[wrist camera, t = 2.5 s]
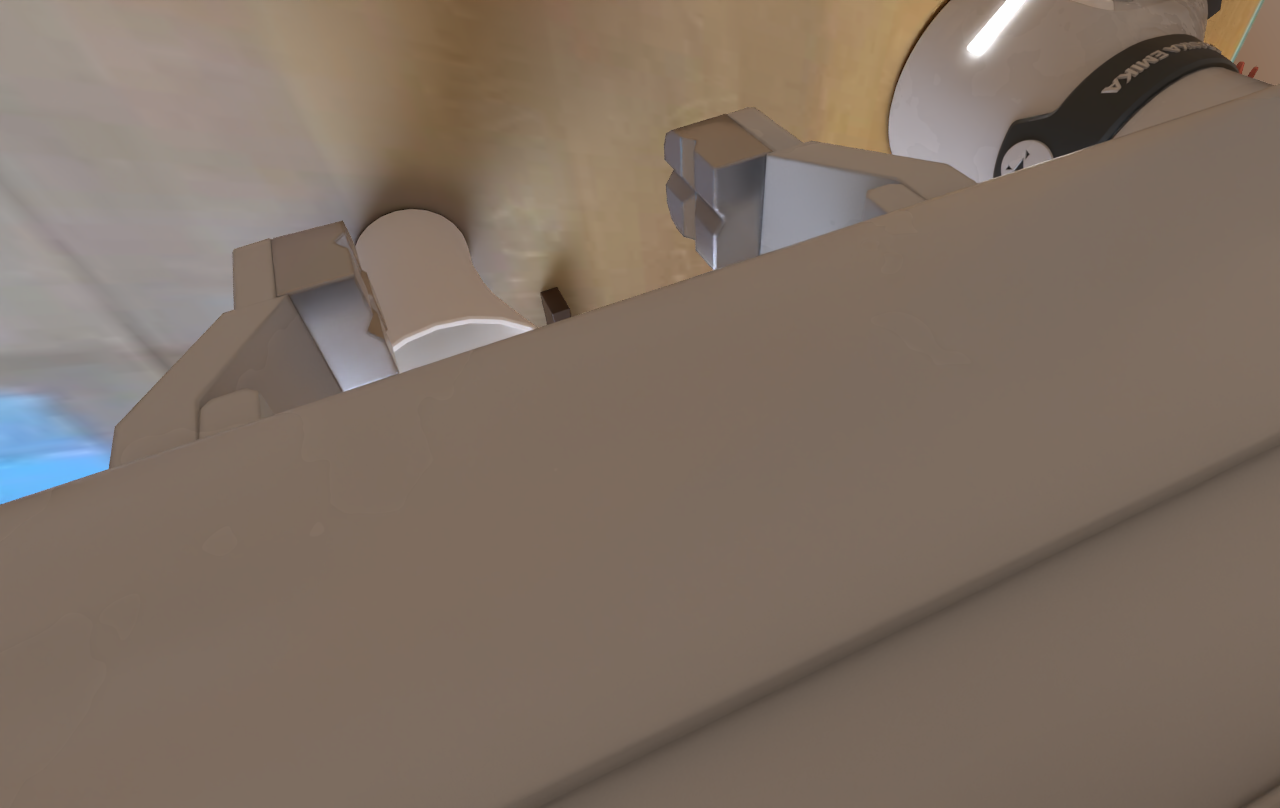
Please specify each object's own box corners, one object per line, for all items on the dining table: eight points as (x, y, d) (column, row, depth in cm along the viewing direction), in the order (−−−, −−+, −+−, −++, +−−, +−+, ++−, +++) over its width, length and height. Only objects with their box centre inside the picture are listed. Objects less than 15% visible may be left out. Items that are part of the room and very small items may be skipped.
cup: (516, 304, 46) (587, 447, 37) (353, 354, 43) (389, 519, 34) (479, 152, 38) (559, 286, 29) (279, 202, 36) (301, 365, 27)
